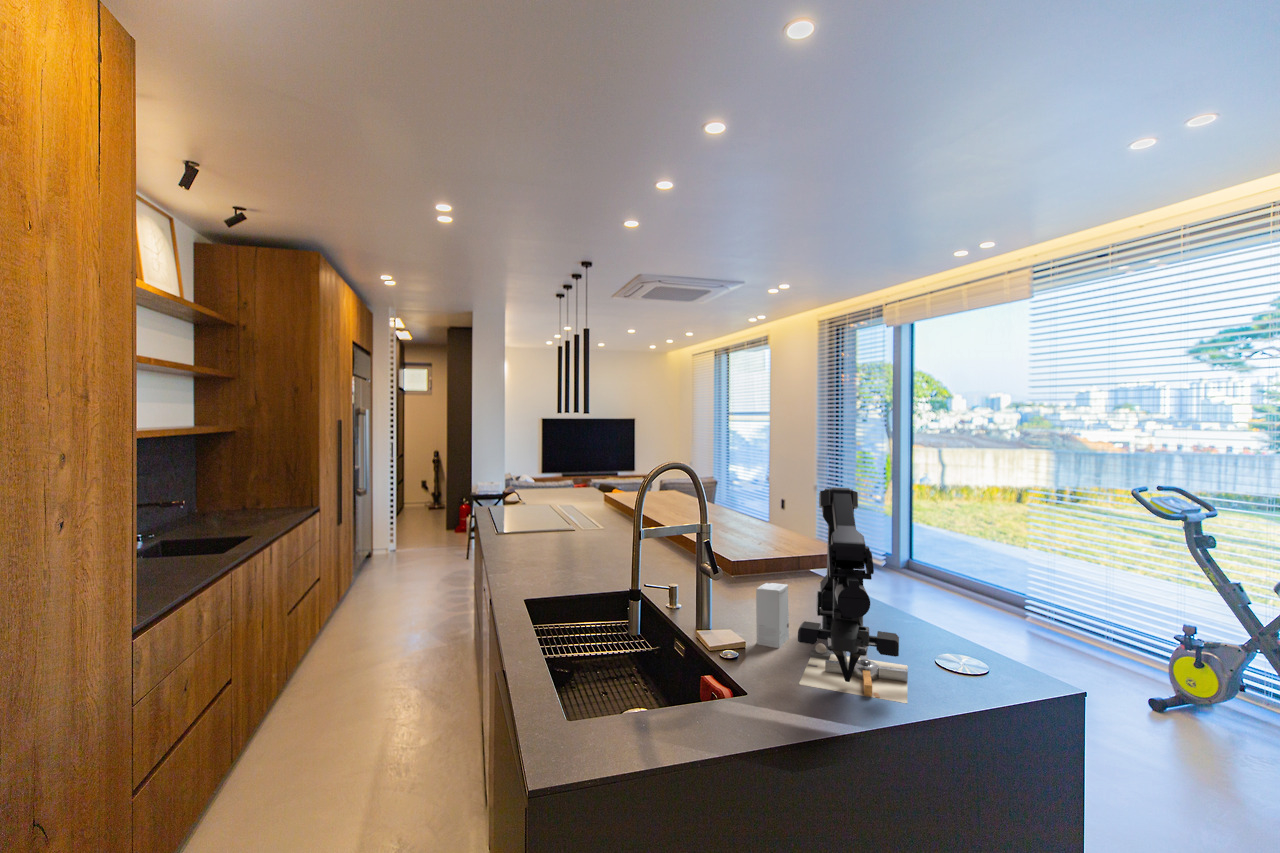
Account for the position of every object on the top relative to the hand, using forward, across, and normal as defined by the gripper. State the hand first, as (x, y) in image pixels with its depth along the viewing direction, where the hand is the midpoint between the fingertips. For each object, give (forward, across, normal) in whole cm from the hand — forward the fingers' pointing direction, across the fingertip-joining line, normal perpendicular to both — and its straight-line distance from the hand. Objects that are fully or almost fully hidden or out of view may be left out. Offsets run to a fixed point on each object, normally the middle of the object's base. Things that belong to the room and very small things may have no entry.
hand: (847, 681), depth 119 cm
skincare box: (+3, -19, +20) cm, 28 cm away
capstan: (+1, +3, +6) cm, 7 cm away
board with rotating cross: (+3, +1, +8) cm, 8 cm away
